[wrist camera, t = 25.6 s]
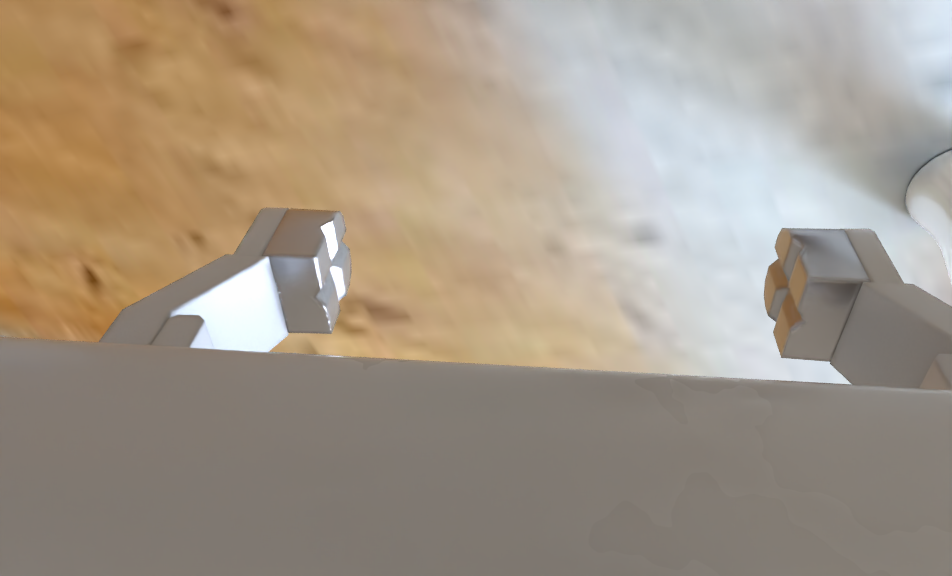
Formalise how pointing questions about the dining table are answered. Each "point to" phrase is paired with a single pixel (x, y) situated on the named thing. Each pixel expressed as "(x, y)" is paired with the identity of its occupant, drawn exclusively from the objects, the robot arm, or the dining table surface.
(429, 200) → the dining table surface
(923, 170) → the beer glass
